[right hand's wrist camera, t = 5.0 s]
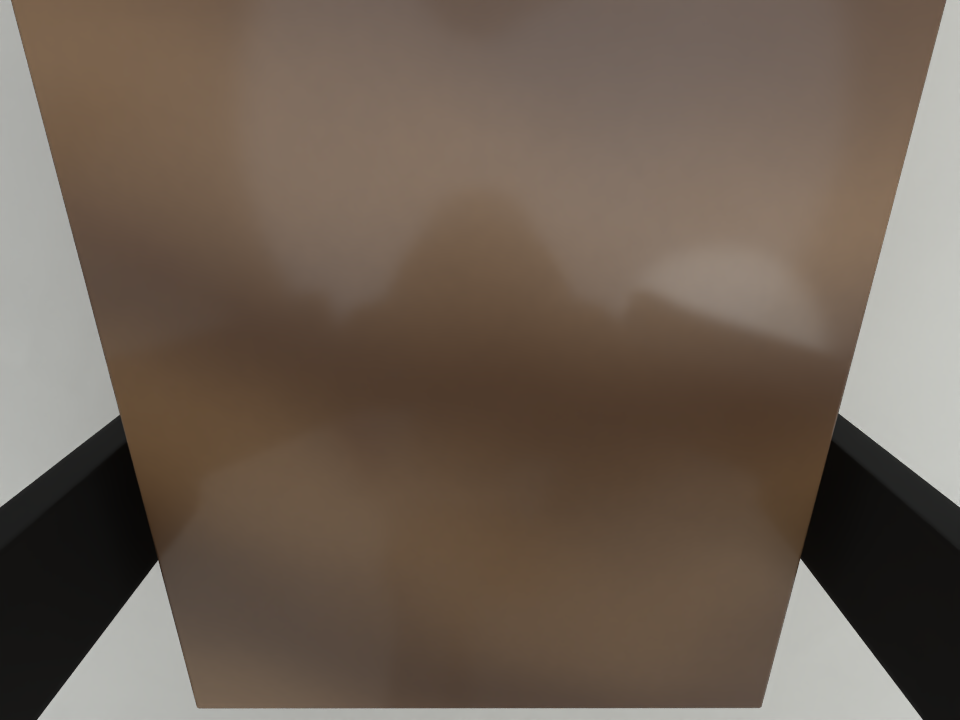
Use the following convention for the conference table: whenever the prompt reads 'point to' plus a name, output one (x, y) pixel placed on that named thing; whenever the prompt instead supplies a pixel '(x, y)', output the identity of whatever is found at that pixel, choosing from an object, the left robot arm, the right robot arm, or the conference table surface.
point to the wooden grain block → (478, 324)
